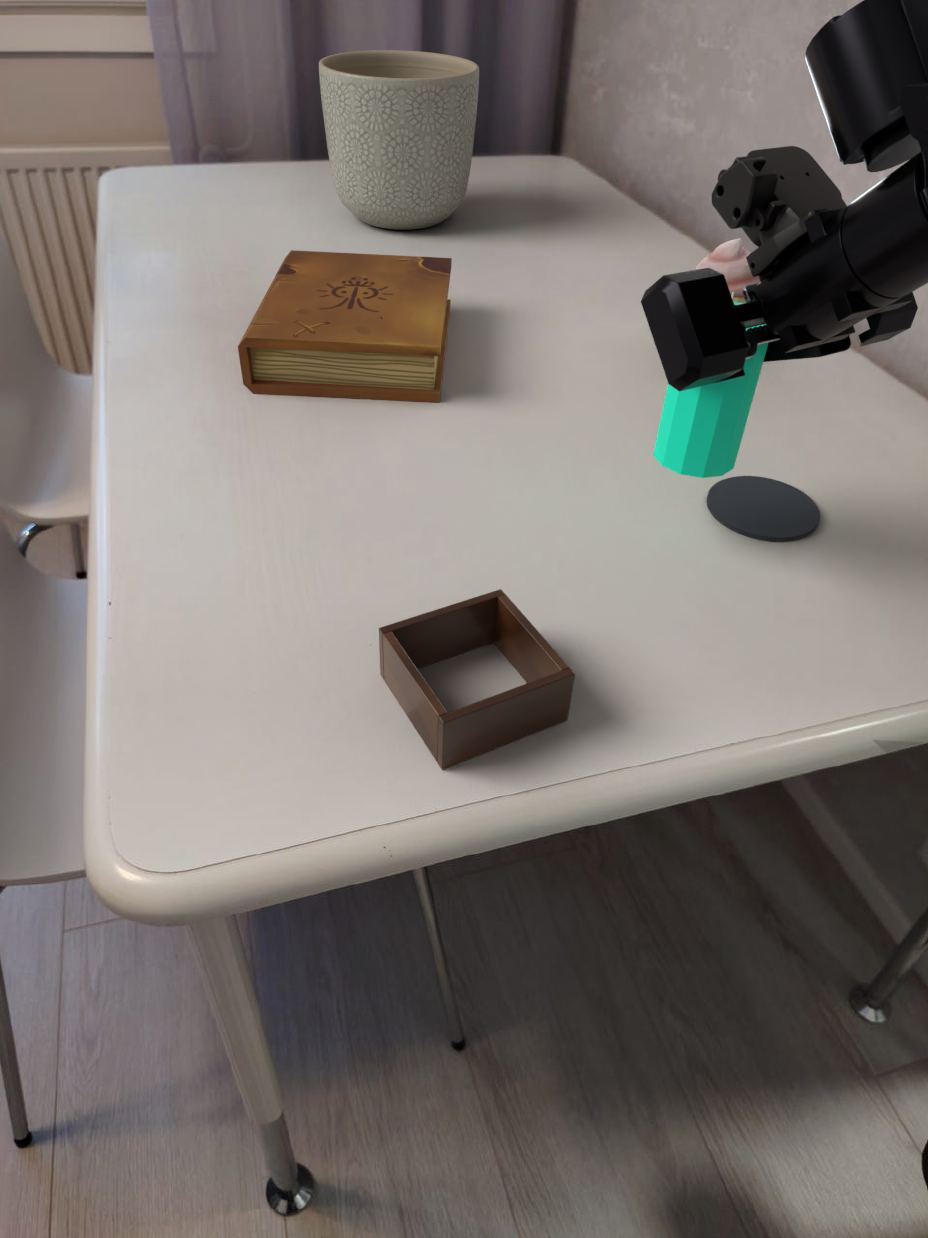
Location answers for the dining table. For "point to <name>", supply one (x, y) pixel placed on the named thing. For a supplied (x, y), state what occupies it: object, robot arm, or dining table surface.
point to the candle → (707, 422)
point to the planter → (399, 133)
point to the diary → (351, 328)
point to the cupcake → (731, 267)
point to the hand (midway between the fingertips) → (700, 364)
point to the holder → (487, 718)
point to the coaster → (763, 508)
